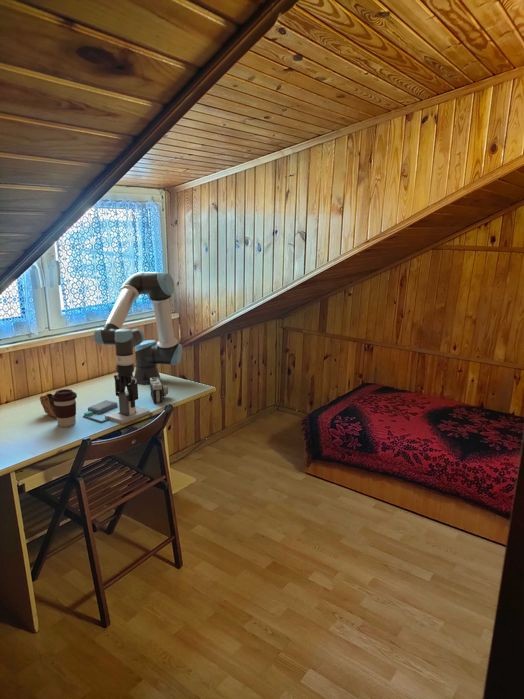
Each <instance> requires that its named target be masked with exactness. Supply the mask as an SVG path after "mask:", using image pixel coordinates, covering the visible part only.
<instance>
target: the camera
mask: <svg viewBox="0 0 524 699" xmlns="http://www.w3.org/2000/svg"><path fill="white" fill-rule="evenodd" d="M149 385H150V397H151V400H152V403H153V404H154V405H155V404H163V398H164V397H166V396H167V395H169V388H168V386H166V385H162V382H161V379H160V380H159V378H158V377H154V378H150V384H149Z"/></svg>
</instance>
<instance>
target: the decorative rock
mask: <svg viewBox="0 0 524 699" xmlns="http://www.w3.org/2000/svg"><path fill="white" fill-rule="evenodd" d="M52 395H53V394H52V393H47V394H44V395H40V396H39V401H40V404H41V406H42V408H43V411H44V413H45V414H47V415H48V416H50V417H54V418H55V419H57V417H56V415H55V409H54V401H53V400H52Z"/></svg>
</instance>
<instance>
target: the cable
mask: <svg viewBox="0 0 524 699" xmlns="http://www.w3.org/2000/svg"><path fill="white" fill-rule="evenodd" d="M93 415H94V413H93V412H91V411H89V412H88V411H87V412H84V413H83V415H82V418H85V419H88V420H91V421H94V422H96V423H100V424H103V423H106V422H108V421H111V420H110V418H108V419H106V418H105V419H103V420H100V419H97V418H94V417H91V416H93Z"/></svg>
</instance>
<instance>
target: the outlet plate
mask: <svg viewBox="0 0 524 699" xmlns="http://www.w3.org/2000/svg"><path fill="white" fill-rule="evenodd" d="M135 410H136V413H134V414H132V415H129V416H124V415H121V414H120V410H119V409H118V410H116V411H112V412H109V413H106V414H104V418H105V419H108V418H110V420H109V421H113V422H116V423H119V424H122V425H124V424H127V423H129V422H132V421H134V420H136V419H139V418H140V419H141V418H142V417H144V416H147V415H149V414H151V410H149V409H148V408H147V409H146V408H143V407H140V406H136V405H135Z"/></svg>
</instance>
